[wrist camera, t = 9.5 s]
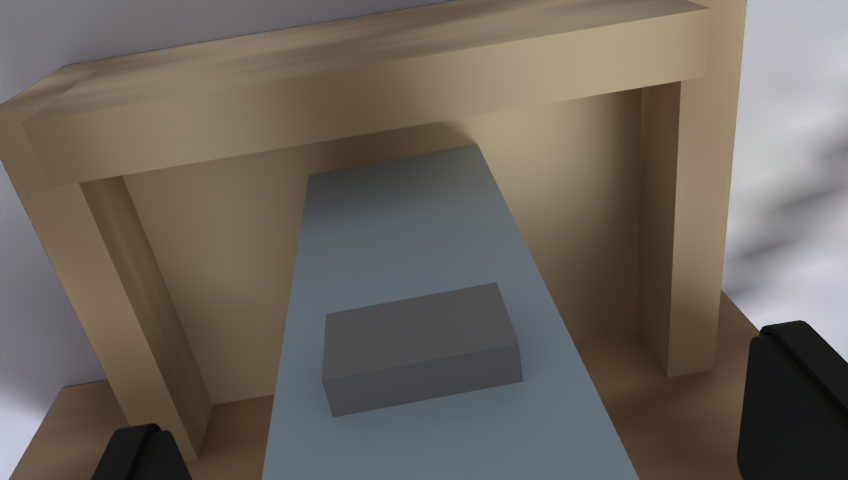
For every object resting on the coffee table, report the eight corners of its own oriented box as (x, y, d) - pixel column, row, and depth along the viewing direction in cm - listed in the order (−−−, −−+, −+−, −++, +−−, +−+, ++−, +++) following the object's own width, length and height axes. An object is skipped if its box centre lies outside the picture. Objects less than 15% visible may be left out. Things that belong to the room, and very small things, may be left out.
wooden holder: (733, -46, 16) (1112, 20, 8) (704, 328, 21) (912, 590, 13) (-96, 92, 16) (-560, 303, 8) (87, 436, 21) (-74, 768, 13)
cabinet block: (474, 119, 15) (641, 442, 6) (497, 301, 18) (642, 716, 9) (302, 151, 15) (231, 519, 6) (349, 329, 18) (345, 774, 9)
